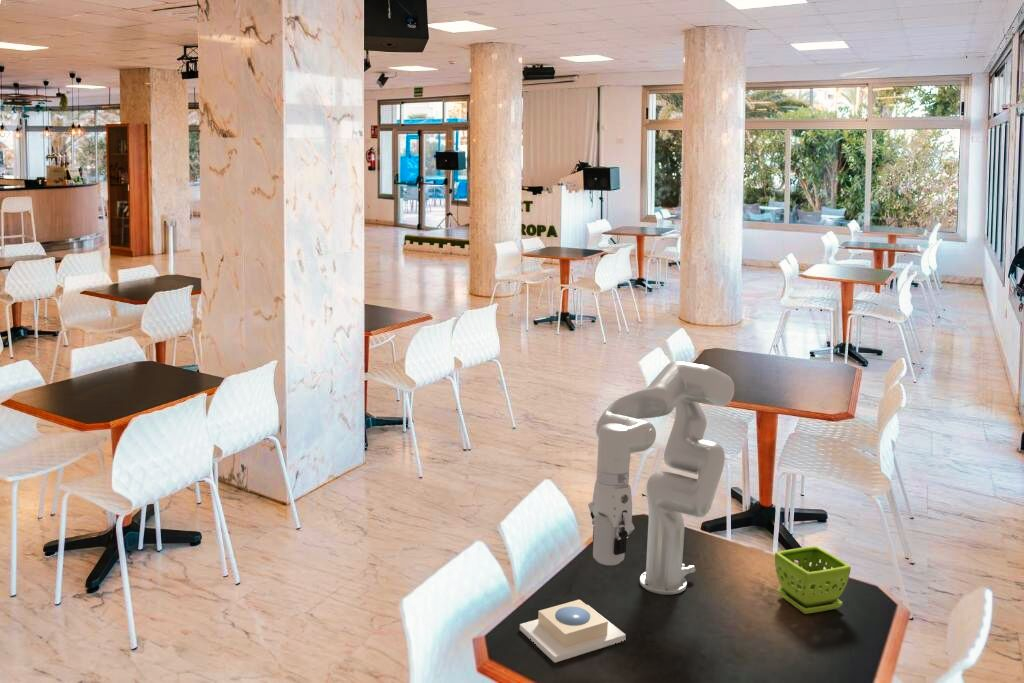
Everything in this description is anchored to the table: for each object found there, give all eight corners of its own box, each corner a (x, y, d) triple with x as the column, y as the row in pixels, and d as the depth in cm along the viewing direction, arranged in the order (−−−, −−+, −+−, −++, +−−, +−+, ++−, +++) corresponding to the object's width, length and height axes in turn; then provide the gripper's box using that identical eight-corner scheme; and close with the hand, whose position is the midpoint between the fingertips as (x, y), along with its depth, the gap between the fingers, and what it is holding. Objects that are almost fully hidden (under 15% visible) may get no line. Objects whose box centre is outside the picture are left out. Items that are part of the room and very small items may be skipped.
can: (623, 568, 204) (626, 520, 202) (591, 565, 206) (593, 517, 203) (624, 554, 212) (627, 508, 209) (593, 551, 213) (596, 505, 211)
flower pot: (848, 612, 224) (853, 566, 221) (803, 621, 219) (807, 574, 216) (812, 587, 237) (816, 543, 234) (769, 595, 232) (773, 550, 229)
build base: (587, 610, 223) (588, 591, 221) (625, 640, 209) (626, 620, 208) (519, 629, 213) (520, 610, 212) (554, 662, 199) (555, 642, 198)
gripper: (649, 485, 199) (644, 558, 203) (603, 463, 214) (599, 530, 217) (623, 491, 195) (619, 564, 199) (578, 467, 210) (575, 536, 213)
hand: (609, 546), depth 208 cm, fingers closed on can, 7 cm apart
